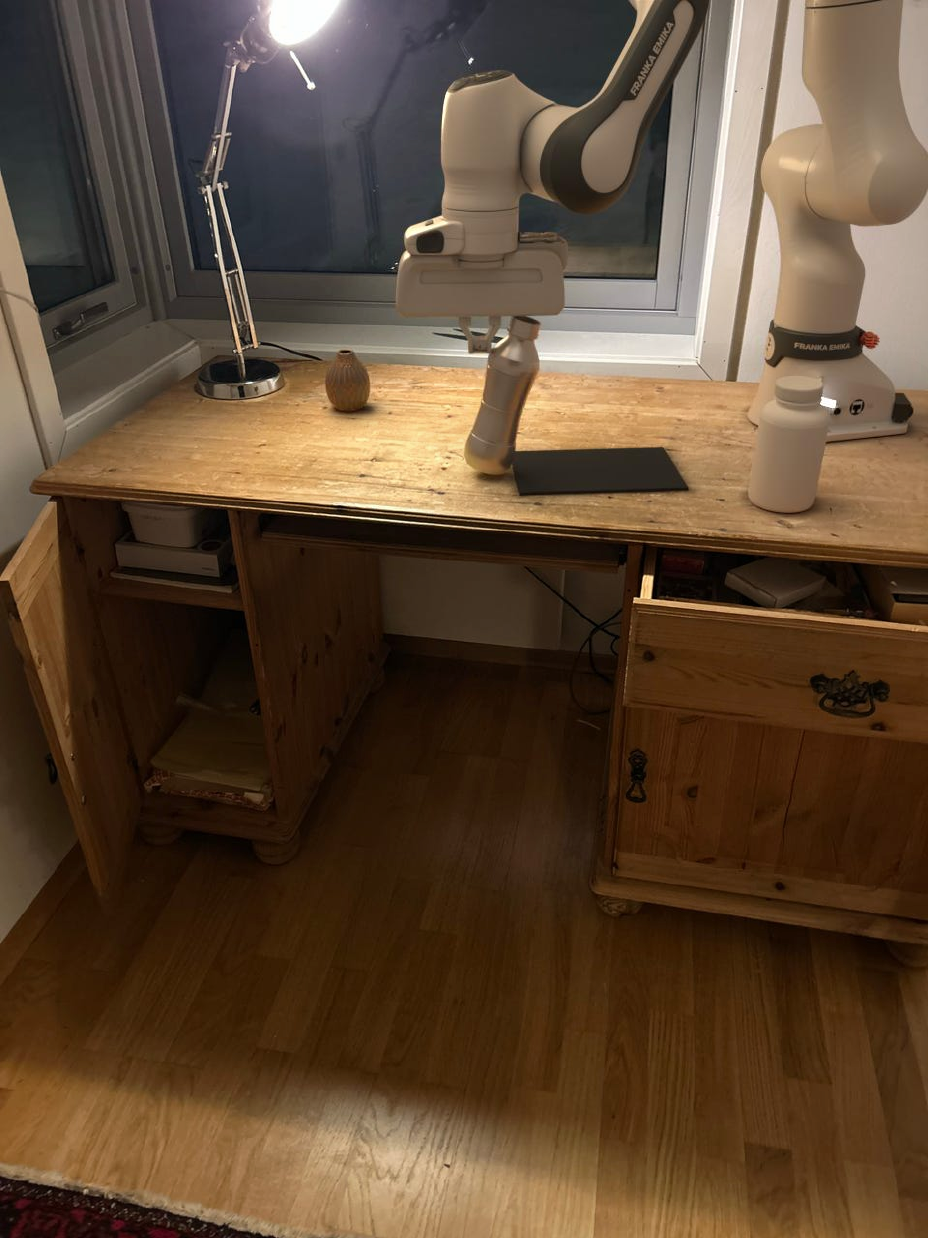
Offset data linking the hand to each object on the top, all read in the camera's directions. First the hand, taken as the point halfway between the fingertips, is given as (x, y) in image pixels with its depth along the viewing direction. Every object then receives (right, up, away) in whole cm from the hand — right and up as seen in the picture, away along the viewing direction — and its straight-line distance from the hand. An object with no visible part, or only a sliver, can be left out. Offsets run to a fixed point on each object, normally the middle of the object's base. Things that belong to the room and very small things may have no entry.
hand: (479, 352), depth 118 cm
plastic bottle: (+1, -13, +8) cm, 16 cm away
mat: (+15, -13, +9) cm, 22 cm away
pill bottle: (+37, -18, +1) cm, 41 cm away
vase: (-20, 0, +32) cm, 37 cm away
